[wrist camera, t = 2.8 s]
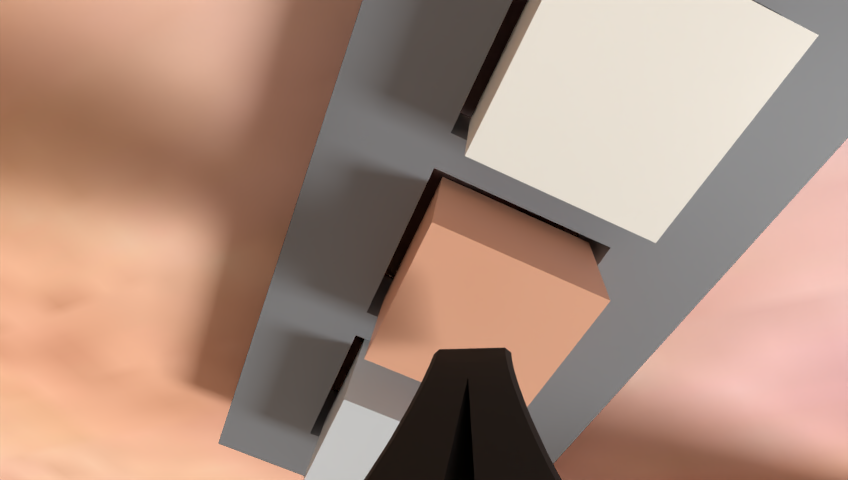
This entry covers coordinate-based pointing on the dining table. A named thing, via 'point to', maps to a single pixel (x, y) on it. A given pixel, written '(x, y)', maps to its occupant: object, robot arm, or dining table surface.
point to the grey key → (360, 420)
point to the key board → (445, 150)
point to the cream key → (629, 99)
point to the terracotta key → (487, 290)
